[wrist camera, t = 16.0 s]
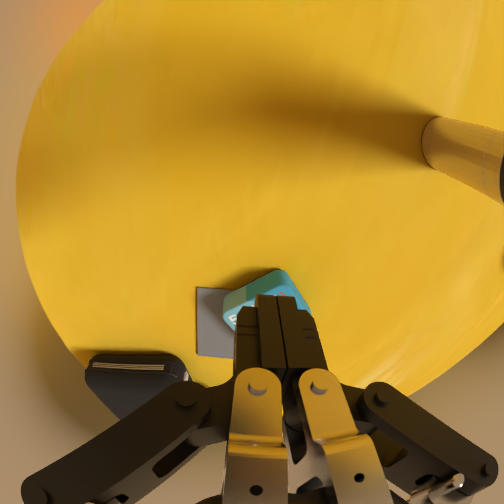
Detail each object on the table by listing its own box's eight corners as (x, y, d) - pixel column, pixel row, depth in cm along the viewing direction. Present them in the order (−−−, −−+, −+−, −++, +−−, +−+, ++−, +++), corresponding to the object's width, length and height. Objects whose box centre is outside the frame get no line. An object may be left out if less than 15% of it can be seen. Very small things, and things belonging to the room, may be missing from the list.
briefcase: (239, 420, 71) (239, 448, 63) (145, 418, 73) (140, 443, 64) (211, 346, 54) (207, 385, 45) (88, 347, 55) (74, 378, 46)
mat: (279, 293, 47) (279, 295, 47) (263, 358, 56) (264, 360, 55) (197, 286, 46) (197, 288, 45) (197, 354, 54) (197, 355, 54)
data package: (257, 355, 48) (218, 315, 43) (256, 337, 52) (219, 297, 46) (317, 329, 45) (286, 281, 40) (312, 312, 49) (282, 265, 44)
